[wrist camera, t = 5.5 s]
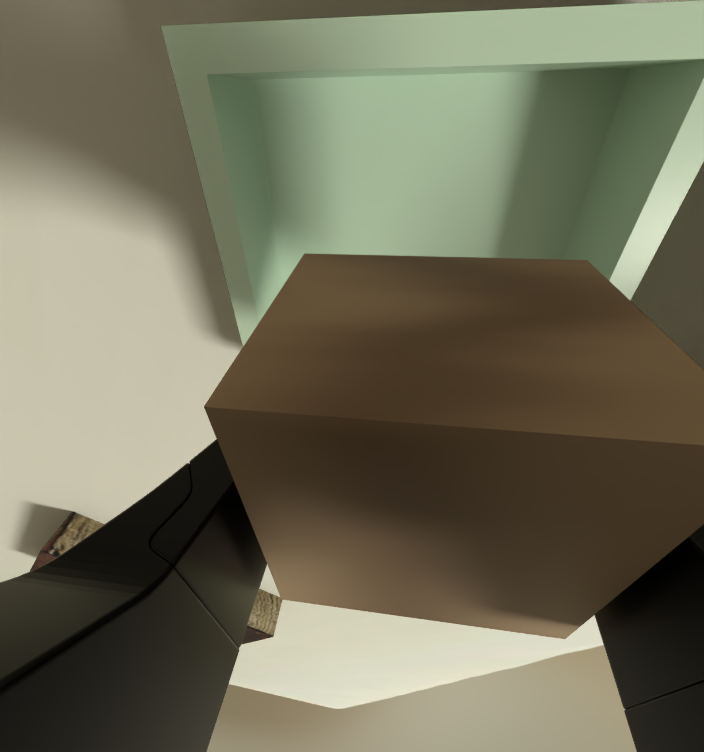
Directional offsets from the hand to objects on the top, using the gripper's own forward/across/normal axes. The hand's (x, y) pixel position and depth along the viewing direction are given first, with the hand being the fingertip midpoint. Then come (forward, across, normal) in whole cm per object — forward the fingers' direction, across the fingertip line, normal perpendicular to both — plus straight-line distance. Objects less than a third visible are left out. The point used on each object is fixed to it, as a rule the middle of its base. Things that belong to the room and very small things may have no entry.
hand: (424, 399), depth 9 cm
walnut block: (+1, 0, 0) cm, 1 cm away
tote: (+11, 0, 0) cm, 11 cm away
